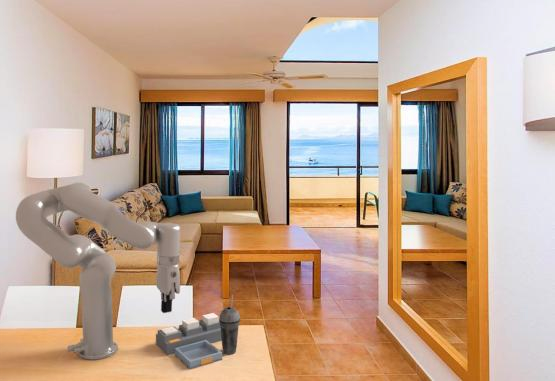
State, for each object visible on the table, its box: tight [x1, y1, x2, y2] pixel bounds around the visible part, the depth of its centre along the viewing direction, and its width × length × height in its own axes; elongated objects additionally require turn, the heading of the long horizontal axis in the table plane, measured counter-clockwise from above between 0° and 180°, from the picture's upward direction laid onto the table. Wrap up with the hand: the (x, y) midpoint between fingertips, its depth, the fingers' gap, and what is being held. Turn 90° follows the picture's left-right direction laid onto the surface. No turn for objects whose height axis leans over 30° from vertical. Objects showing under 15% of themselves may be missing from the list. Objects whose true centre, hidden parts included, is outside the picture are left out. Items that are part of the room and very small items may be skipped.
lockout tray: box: [174, 340, 223, 370], centre depth 155 cm, size 12×12×2 cm
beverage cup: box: [219, 293, 241, 356], centre depth 159 cm, size 7×7×20 cm
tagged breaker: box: [160, 326, 178, 336], centre depth 162 cm, size 4×4×2 cm
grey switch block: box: [155, 312, 222, 356], centre depth 167 cm, size 22×10×8 cm, turn 126°
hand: (166, 311), depth 161 cm, fingers closed
